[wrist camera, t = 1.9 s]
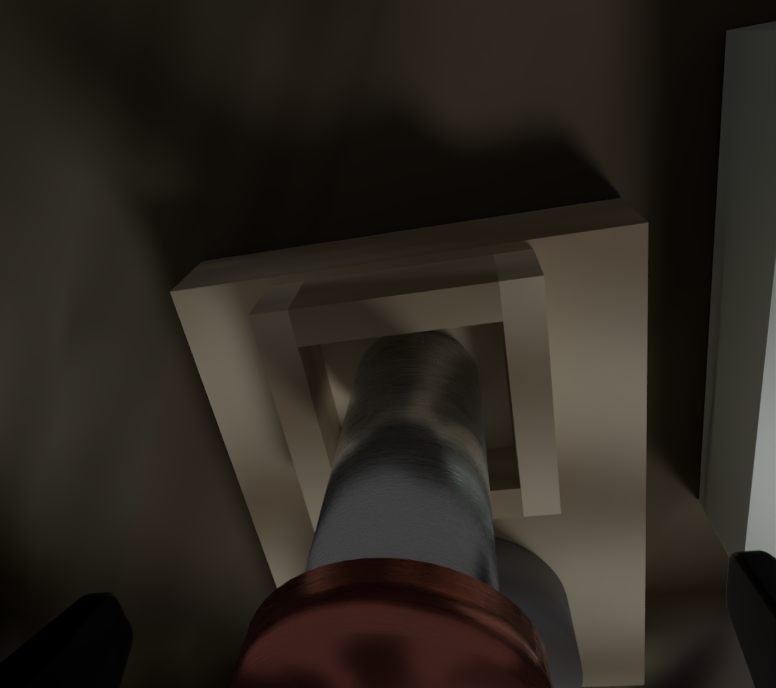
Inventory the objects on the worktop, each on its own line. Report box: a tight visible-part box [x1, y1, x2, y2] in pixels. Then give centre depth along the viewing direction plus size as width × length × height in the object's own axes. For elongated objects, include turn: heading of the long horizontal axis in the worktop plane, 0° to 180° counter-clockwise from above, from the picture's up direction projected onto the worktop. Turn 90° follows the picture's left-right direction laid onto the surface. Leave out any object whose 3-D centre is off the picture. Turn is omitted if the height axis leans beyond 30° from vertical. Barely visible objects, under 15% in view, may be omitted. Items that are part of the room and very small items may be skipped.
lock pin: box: [229, 330, 553, 688], centre depth 10 cm, size 4×4×8 cm
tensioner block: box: [170, 198, 648, 688], centre depth 15 cm, size 14×10×5 cm
